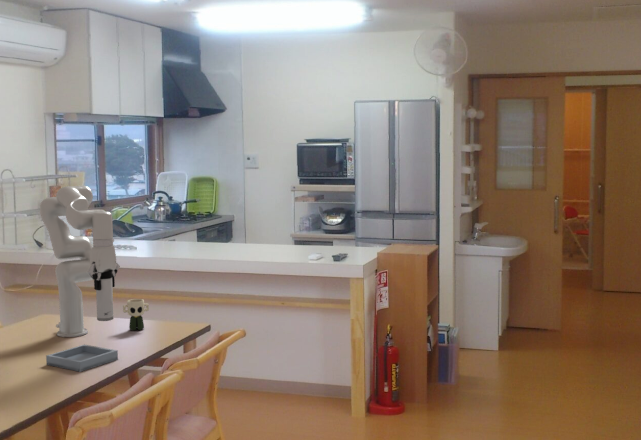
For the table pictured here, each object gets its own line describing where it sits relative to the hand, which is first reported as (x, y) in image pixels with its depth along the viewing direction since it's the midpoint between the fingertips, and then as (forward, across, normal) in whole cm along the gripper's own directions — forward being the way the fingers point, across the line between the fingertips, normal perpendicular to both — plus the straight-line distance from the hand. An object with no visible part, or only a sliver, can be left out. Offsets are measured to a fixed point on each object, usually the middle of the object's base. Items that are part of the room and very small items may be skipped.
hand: (104, 287), depth 304 cm
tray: (+24, +18, +7) cm, 31 cm away
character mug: (+25, -29, -12) cm, 40 cm away
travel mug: (+13, 0, 0) cm, 13 cm away
